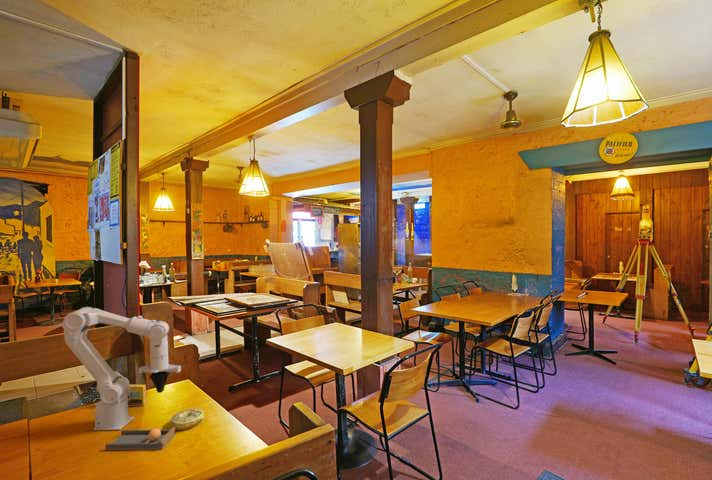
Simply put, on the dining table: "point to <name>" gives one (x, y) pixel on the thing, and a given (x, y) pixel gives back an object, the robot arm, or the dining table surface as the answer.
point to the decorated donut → (187, 419)
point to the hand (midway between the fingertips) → (160, 391)
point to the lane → (140, 440)
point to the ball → (154, 434)
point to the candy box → (136, 395)
